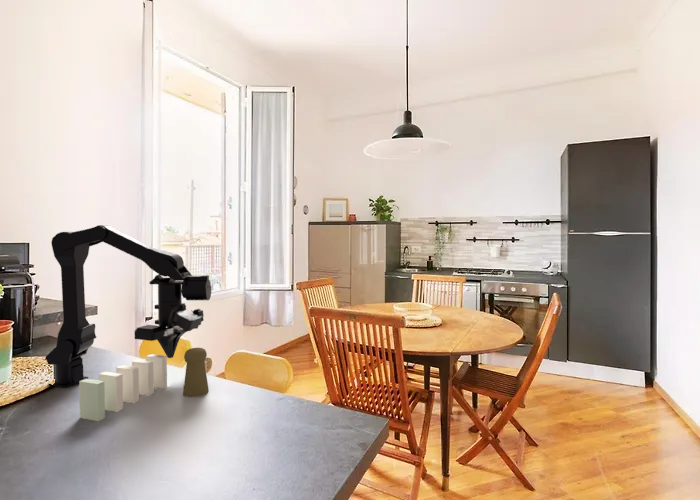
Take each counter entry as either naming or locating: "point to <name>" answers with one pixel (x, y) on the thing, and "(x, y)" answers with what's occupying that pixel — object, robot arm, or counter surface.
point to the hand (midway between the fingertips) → (170, 357)
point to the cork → (195, 373)
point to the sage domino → (92, 399)
